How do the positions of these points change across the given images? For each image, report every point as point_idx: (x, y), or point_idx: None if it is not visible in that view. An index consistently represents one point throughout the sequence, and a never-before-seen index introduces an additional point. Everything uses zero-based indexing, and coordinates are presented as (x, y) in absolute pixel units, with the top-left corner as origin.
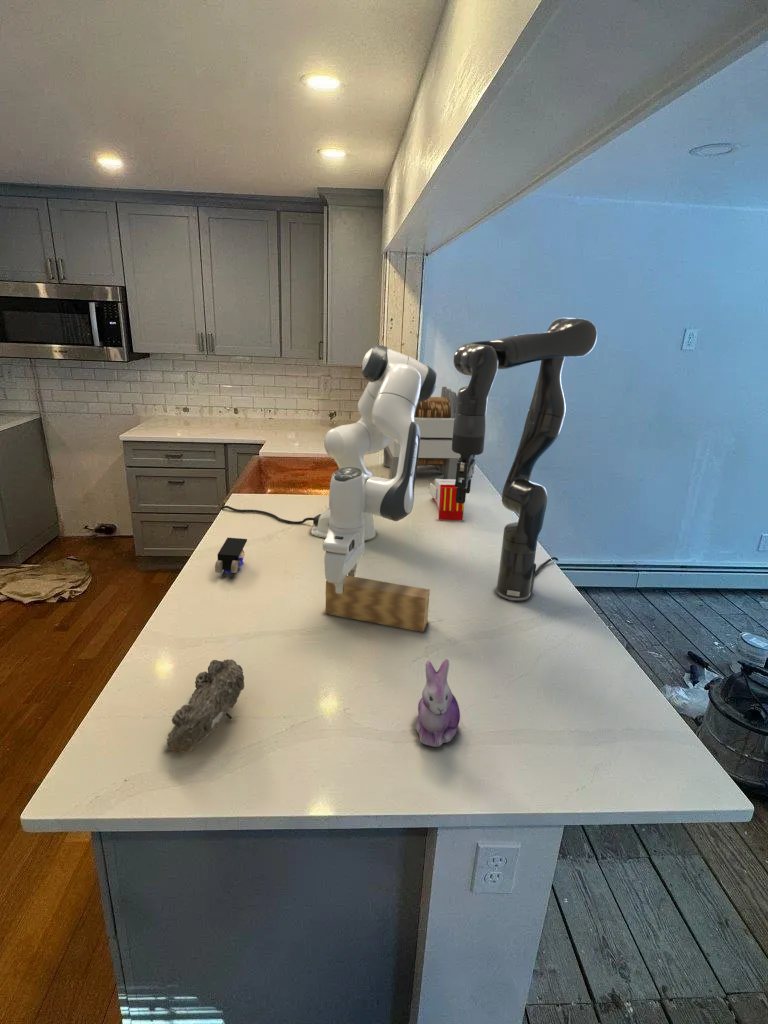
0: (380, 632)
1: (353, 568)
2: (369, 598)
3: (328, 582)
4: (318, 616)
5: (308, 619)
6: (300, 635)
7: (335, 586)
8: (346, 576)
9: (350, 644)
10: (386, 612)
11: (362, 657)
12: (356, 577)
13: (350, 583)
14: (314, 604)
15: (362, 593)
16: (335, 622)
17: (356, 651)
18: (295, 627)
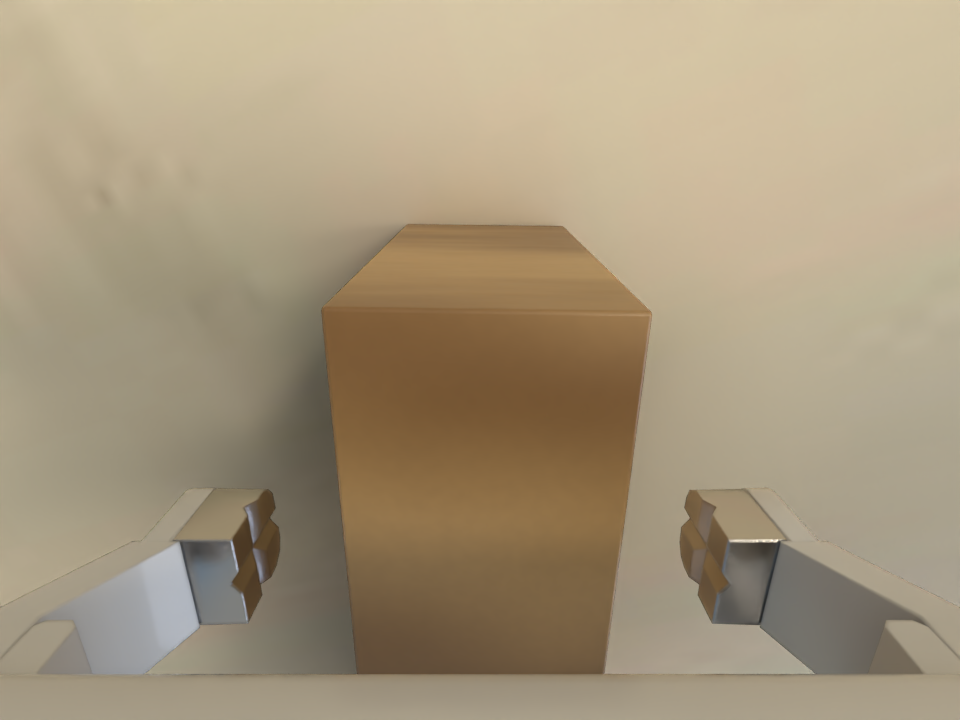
0: (331, 613)
1: (794, 618)
2: None
3: (326, 348)
4: (343, 182)
5: (261, 115)
6: (14, 153)
7: (125, 548)
8: (588, 535)
9: (124, 506)
10: None
11: None
12: (596, 647)
13: (399, 631)
14: (527, 58)
15: None
16: (318, 341)
17: (80, 553)
18: (89, 54)
